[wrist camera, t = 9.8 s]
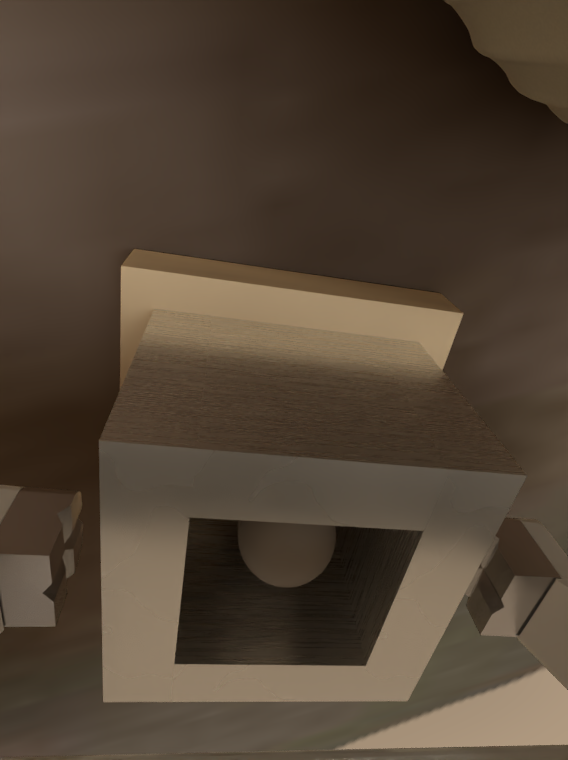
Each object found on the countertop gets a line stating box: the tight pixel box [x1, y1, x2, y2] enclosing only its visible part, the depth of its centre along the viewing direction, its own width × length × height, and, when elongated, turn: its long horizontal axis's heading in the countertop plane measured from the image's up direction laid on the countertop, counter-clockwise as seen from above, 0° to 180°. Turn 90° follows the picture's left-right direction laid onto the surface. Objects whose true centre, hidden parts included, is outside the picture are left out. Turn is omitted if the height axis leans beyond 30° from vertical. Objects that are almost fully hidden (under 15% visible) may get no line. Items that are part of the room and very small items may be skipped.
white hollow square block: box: [99, 308, 527, 702], centre depth 11 cm, size 6×6×5 cm
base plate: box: [120, 249, 464, 588], centre depth 11 cm, size 8×8×6 cm
